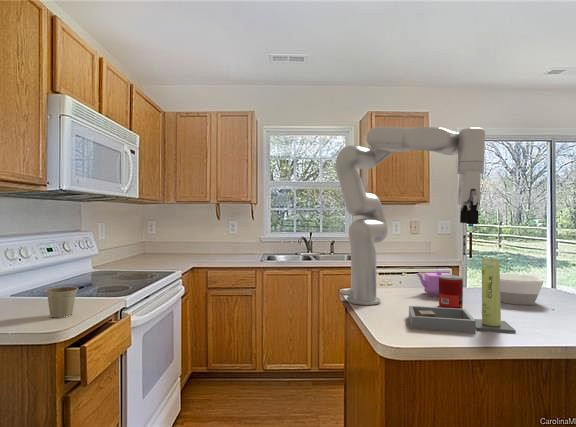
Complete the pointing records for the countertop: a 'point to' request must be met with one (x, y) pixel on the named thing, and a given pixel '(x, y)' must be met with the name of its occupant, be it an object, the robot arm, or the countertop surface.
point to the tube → (491, 292)
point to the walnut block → (426, 314)
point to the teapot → (431, 282)
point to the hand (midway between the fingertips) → (468, 223)
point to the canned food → (450, 291)
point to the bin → (442, 319)
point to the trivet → (494, 327)
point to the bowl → (519, 289)
